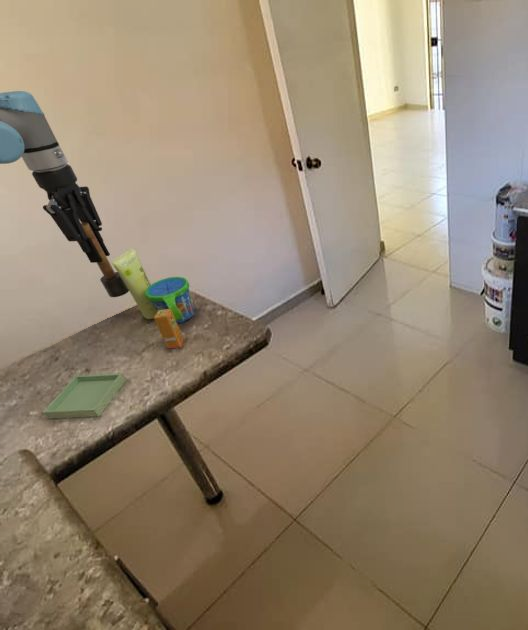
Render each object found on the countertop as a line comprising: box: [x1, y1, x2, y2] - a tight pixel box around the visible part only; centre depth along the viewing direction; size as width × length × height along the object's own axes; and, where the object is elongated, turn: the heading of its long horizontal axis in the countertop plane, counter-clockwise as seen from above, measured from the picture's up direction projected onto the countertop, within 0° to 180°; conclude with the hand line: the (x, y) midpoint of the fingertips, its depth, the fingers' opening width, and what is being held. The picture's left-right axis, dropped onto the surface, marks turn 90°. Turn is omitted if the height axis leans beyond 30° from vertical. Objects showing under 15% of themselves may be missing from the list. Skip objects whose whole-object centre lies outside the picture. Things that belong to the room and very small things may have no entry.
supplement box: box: [153, 309, 185, 350], centre depth 109 cm, size 3×4×10 cm
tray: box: [42, 372, 127, 420], centre depth 97 cm, size 11×11×2 cm
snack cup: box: [145, 276, 195, 324], centre depth 119 cm, size 16×10×10 cm
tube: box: [110, 247, 158, 320], centre depth 117 cm, size 6×5×20 cm
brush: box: [80, 222, 130, 298], centre depth 113 cm, size 5×5×20 cm
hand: (100, 258), depth 113 cm, fingers closed on brush, 3 cm apart
